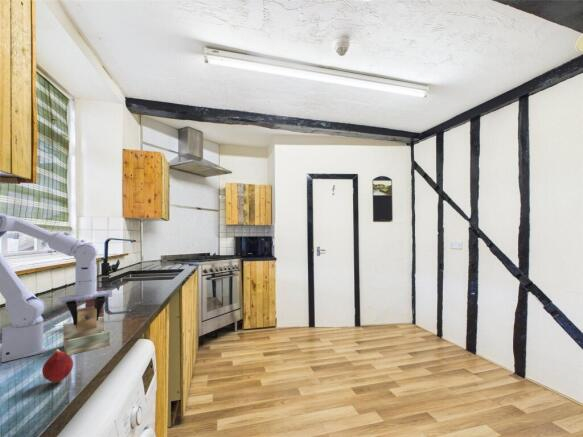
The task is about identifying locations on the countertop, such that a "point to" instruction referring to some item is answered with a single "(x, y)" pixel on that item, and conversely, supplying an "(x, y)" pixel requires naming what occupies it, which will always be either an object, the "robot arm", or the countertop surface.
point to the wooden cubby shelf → (84, 337)
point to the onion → (57, 367)
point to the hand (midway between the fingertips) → (85, 322)
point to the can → (91, 303)
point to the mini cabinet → (86, 318)
